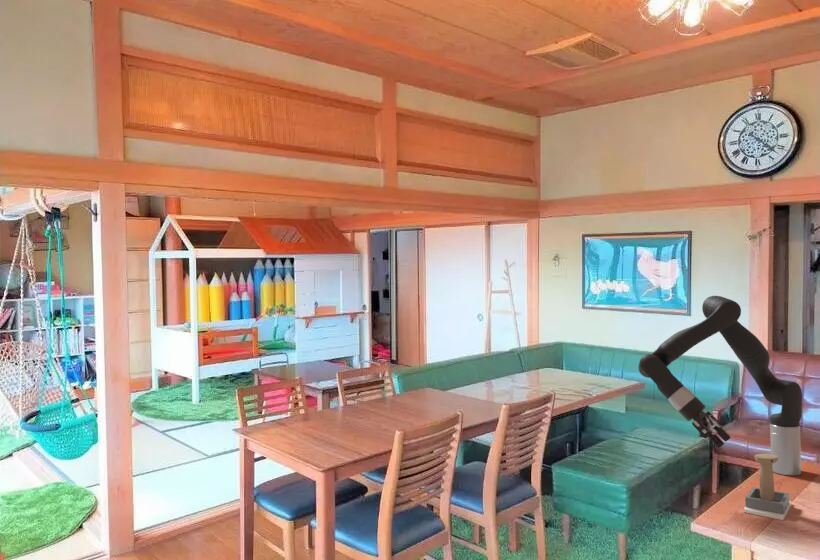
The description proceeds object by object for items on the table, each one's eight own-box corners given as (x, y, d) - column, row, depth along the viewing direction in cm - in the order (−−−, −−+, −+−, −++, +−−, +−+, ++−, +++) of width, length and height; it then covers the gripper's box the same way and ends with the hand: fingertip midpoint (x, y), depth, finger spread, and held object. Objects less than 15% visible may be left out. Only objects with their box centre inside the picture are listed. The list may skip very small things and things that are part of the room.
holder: (753, 497, 196) (753, 485, 196) (791, 504, 189) (790, 491, 189) (743, 512, 184) (743, 499, 184) (783, 520, 178) (782, 506, 178)
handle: (782, 506, 186) (781, 457, 185) (764, 508, 184) (762, 459, 184) (770, 500, 190) (769, 453, 190) (752, 502, 189) (751, 454, 189)
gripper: (688, 399, 194) (728, 440, 187) (700, 392, 205) (739, 430, 198) (671, 414, 198) (710, 455, 190) (684, 406, 208) (721, 444, 201)
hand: (725, 442), depth 194 cm, fingers open, 8 cm apart
